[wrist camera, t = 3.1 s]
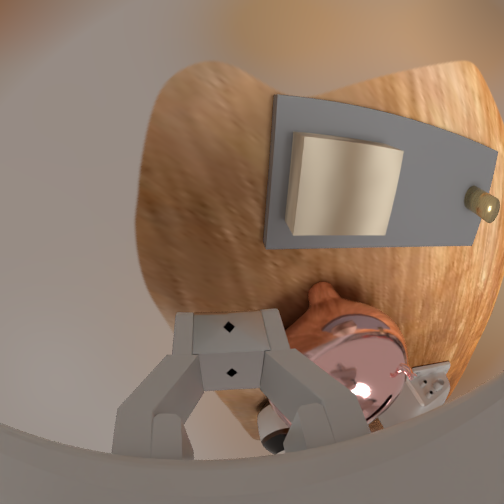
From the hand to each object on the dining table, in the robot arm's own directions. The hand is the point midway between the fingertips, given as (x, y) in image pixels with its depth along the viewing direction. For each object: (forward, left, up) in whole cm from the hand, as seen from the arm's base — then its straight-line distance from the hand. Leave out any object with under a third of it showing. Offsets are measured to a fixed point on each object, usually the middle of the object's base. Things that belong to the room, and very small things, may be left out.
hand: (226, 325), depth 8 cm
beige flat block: (-11, 0, -17) cm, 20 cm away
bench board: (-20, 0, -18) cm, 27 cm away
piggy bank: (-13, +20, -18) cm, 30 cm away
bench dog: (-31, 0, -17) cm, 35 cm away
